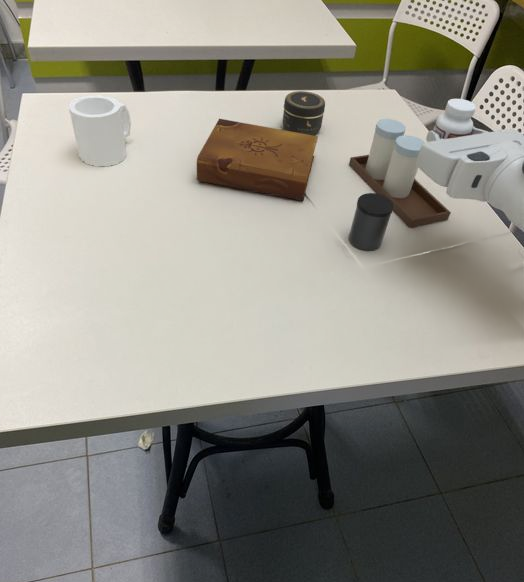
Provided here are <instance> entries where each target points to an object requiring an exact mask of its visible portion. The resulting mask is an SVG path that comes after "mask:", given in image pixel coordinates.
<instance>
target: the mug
mask: <svg viewBox="0 0 524 582" xmlns="http://www.w3.org/2000/svg"><path fill="white" fill-rule="evenodd" d="M68 111H69V115H70V120H71V125H72V129H73V134H74V138H75V142H76V147H77V152H78V155H79V159H80V158H81V159H80V160H81V162H83V161H84V162H85V163H84V162H83V163H84V164H86V163H88V164H90V165H89V166H92V165H94V166H93V167H99V166H105V167H111V165H112V166H115V165H118V164H120V163H122V162H123V161H125V160H126V158H127V156H126V155H128V154H127V148H126V147H127V146H126V139H125V138H127V137H129V136H130V135H131V128H132V127H131V126H132V121H131V116H130V112H129V109H128V108H127V106H126V104H124V103H121V102H119V101H118V100H117V99H115V98H113V97H111V96H107V95H100V94H89V95H82V96H80V97H76V98H74V99H73V100H71V101H70V103H69V104H68ZM125 157H126V158H125ZM121 161H122V162H121ZM119 162H120V163H119ZM88 164H87V165H88Z"/></svg>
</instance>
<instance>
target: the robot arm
mask: <svg viewBox="0 0 524 582" xmlns="http://www.w3.org/2000/svg"><path fill="white" fill-rule="evenodd" d="M441 135H442V133H440V132H438V131H437V130H434V129H433V130H429V131H428V132H427V135H426V137H425V140H426V141H424V143H423V144H422V146H421V148H420V151H419V154H418V157H417V166H418V170H420V171H421V172H422V173H423V174H425V175H426V176H427V178H429V179H430V180H431V181H432V182H434V183H435V184H437V185H439V186H440V187H444V188H446V191H445V193H446V194H447V195H448V197H450V198H452V199H457V200H458V199H459V200H461V199H462V200H474V201H477V202H483V203H485V202H487V203H488V204H489V205H490V206H491V207H493V208H495V209H497V210H500V211H502V212H503V213H504V214H505V216H506V219H508V220H509V222H510V223H512V224H513V225H514V226H516V227H517V228H519V230H521V231H522V232H523V233H524V134H523V133H521V132H520V131H518V130H515V129H512V128H508V129H502V130H494V131H488V130H484V129H481V128H477V127H475V126H474V125H473V128H472V131H471V134H470V135H468V136H462V137H456V138H449V139H440V137H441Z"/></svg>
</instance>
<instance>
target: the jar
mask: <svg viewBox="0 0 524 582" xmlns="http://www.w3.org/2000/svg"><path fill="white" fill-rule="evenodd" d="M325 108H326V100H325V98H323V97H322V95H321V96H320V95H319V94H317V93H314V92H310V91H305V90H297V91H292V92H290V93H288V94H287V95H286V96H285V97H284V104H283V114H282V127H283V130H285V131H291V132H296V133H302V134H307V135H313V136H317V135H318V134H319V132H320V131H321V129H322V126H323V120H324V114H325V110H326V109H325Z"/></svg>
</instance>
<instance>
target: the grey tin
mask: <svg viewBox="0 0 524 582" xmlns="http://www.w3.org/2000/svg"><path fill="white" fill-rule="evenodd" d="M393 208H394V205H393V202H392V201H391V200H390V199H389V198H387V197H385V196H383V195H380V194H376V193H375V192H368V193H367V192H366V193H364V194H361V195H360V196H358V198H357V202H356V207H355V211H354V215H353V219H352V223H351V227H350V230H349V234H348V242H349V244H350V245H351V246H352V247H353V248H355V249H357V250H359V251H362V252H374V251H377V250H379V249H380V248H381V246H382V244H383V243H382V242H383V240H384V237H385V233H386V231H387V227H388V224H389V223H390V222H389V221H390V219H391V215H392V213H393V212H394V211H393Z"/></svg>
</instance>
